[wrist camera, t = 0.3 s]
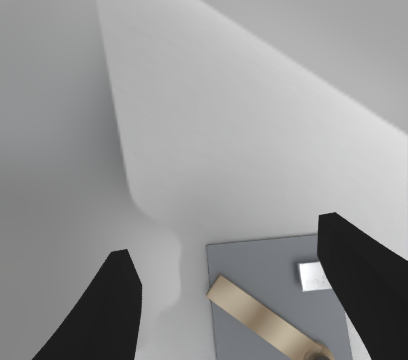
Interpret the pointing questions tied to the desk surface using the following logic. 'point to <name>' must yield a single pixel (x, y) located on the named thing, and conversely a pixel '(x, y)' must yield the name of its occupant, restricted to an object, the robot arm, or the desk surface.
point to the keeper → (312, 276)
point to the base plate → (275, 297)
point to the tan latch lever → (266, 322)
